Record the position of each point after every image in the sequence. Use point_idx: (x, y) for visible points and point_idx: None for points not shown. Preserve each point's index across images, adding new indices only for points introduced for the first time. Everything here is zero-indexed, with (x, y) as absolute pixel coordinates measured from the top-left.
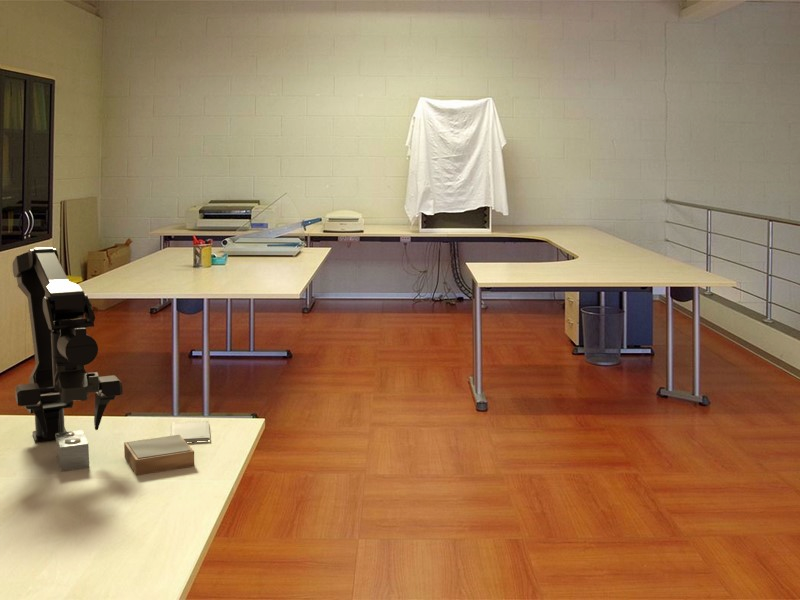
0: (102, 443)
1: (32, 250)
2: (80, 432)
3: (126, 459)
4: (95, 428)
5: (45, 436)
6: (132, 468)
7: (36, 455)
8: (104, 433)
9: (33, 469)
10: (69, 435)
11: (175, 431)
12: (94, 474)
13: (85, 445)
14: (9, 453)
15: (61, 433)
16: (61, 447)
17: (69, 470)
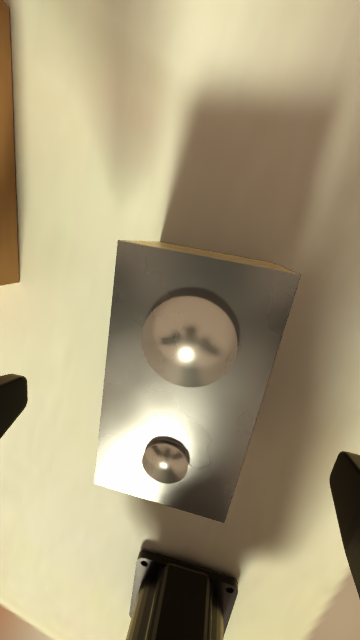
0: (61, 450)
1: None
2: (111, 457)
3: (16, 245)
4: (19, 386)
5: (353, 453)
6: (10, 107)
7: (279, 483)
8: (40, 519)
9: (353, 357)
10: (174, 445)
11: None
12: (164, 140)
13: (139, 243)
14: None
15: (199, 501)
16: (291, 273)
17: (238, 256)
